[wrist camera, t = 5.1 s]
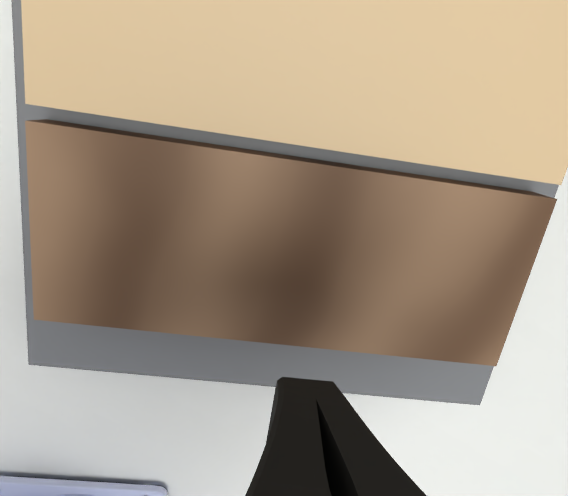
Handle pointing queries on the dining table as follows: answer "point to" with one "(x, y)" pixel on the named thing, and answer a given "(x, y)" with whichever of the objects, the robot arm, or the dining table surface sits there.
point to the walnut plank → (273, 246)
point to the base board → (299, 132)
